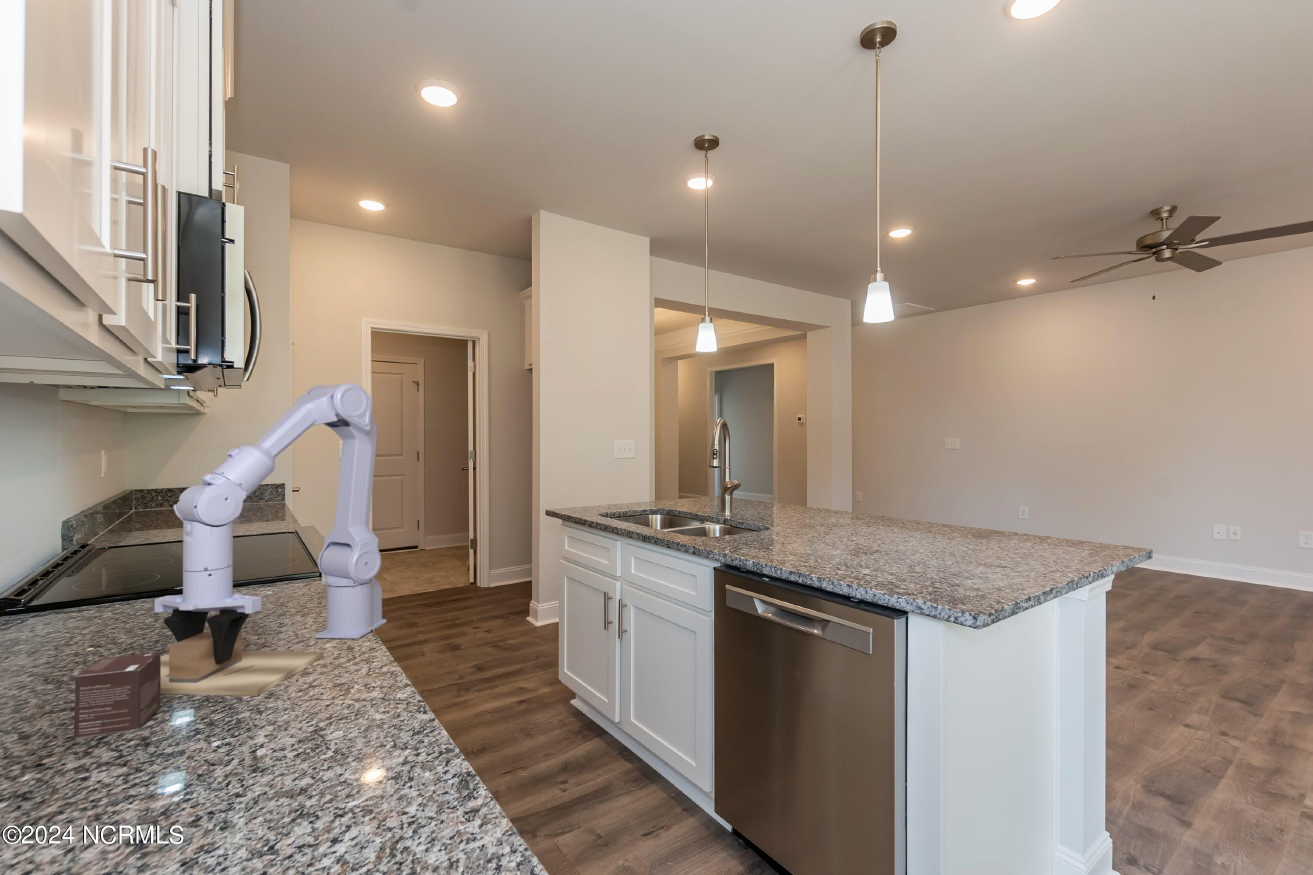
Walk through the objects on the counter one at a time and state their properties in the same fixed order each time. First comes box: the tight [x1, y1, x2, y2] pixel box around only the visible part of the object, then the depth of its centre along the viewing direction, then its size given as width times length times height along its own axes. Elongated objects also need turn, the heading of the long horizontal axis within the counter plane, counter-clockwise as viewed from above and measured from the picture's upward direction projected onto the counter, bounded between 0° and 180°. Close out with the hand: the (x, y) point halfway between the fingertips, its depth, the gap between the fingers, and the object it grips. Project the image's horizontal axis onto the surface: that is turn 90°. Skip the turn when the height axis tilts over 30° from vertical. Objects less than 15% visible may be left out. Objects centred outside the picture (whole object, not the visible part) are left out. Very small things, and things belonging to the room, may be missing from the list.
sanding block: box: [168, 627, 243, 683], centre depth 83 cm, size 8×4×5 cm, turn 177°
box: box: [73, 651, 162, 740], centre depth 70 cm, size 6×6×7 cm
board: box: [160, 650, 324, 697], centre depth 85 cm, size 14×24×1 cm, turn 87°
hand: (208, 661), depth 84 cm, fingers closed on sanding block, 4 cm apart
